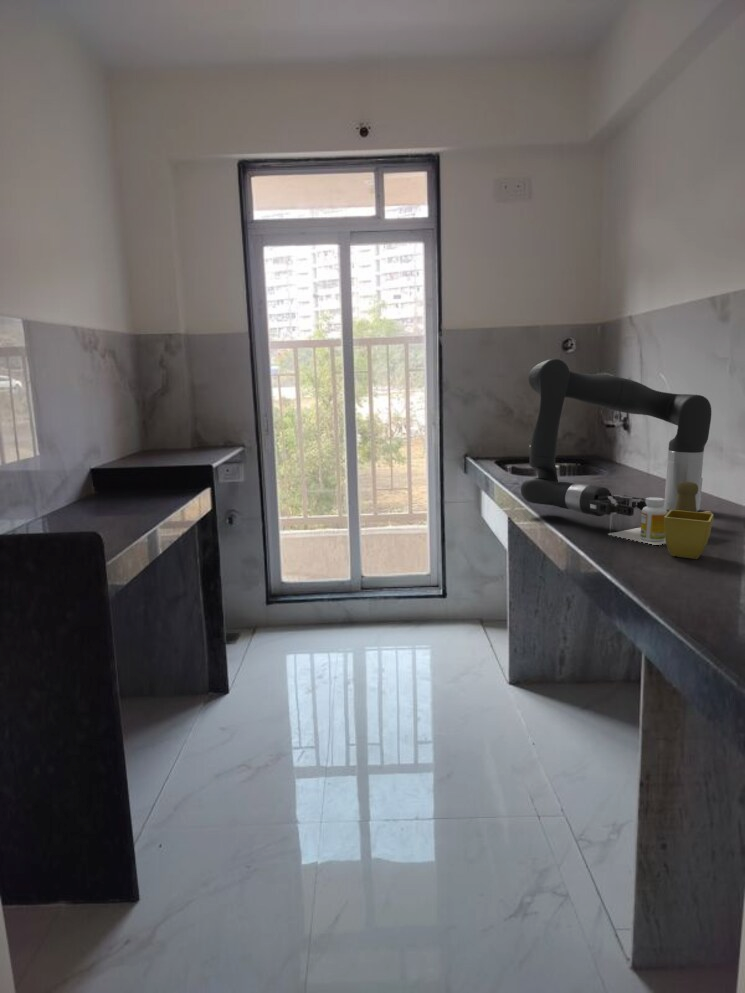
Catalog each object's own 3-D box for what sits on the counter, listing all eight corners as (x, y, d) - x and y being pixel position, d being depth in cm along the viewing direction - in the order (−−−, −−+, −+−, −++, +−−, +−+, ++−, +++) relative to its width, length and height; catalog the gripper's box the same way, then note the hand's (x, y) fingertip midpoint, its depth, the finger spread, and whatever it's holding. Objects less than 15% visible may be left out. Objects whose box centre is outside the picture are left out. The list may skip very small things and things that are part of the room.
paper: (652, 526, 170) (652, 524, 170) (700, 535, 159) (700, 534, 159) (608, 534, 160) (608, 533, 160) (655, 546, 149) (656, 544, 149)
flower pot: (706, 563, 135) (710, 521, 134) (660, 557, 140) (663, 516, 138) (710, 554, 143) (714, 513, 141) (667, 548, 147) (670, 509, 146)
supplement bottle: (668, 539, 155) (671, 498, 153) (659, 543, 151) (662, 501, 149) (645, 535, 158) (648, 495, 157) (636, 539, 155) (638, 498, 153)
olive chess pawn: (699, 526, 170) (703, 484, 168) (674, 525, 171) (678, 483, 169) (693, 521, 175) (697, 480, 174) (669, 520, 177) (672, 480, 175)
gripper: (570, 487, 165) (626, 497, 151) (606, 482, 172) (663, 491, 159) (568, 516, 166) (624, 528, 153) (604, 510, 174) (660, 521, 160)
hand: (644, 509), depth 156 cm, fingers open, 8 cm apart
